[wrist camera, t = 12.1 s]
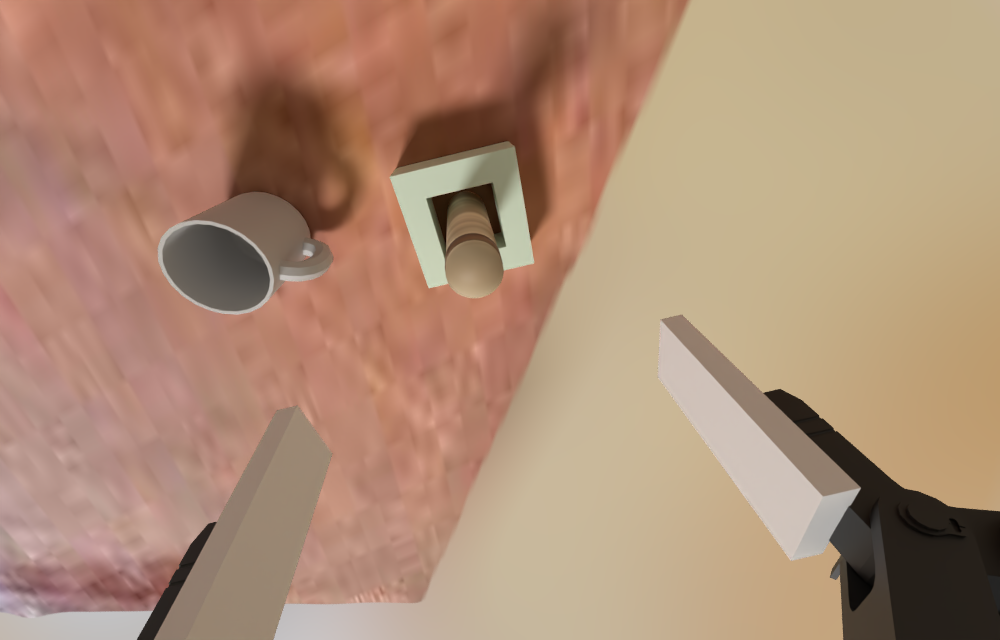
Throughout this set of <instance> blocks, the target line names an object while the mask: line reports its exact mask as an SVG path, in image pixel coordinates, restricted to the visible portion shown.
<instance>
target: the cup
mask: <svg viewBox="0 0 1000 640" xmlns="http://www.w3.org/2000/svg"><path fill="white" fill-rule="evenodd" d="M306 255H307V256H311V257H310V258H308V259H306V260H304V259H305V257H306ZM303 260H304V261H303ZM158 261H159V264H160V266H161V269H162V272H163V274H164V275H165V277H166V278H167V280H168V281H169V283H170V284H171V285H172V286H173V287H174V288H175V289H176V290H177V291H178V292H179V293H180V294H181V295H182V296H184V297H185V298H187V299H188V300H190V301H191V302H193V303H194V304H196V305H198V306H201V307H203V308H205V309H208V310H210V311H214V312H218V313H223V314H243V313H248V312H252V311H254V310H256V309H258V308H260V307H261V306H262V305H263V304H265V303H266V302H267V301H268V300H269V299H270V298H271V296H272V295H273V294H274V293H275V292H276V291H277V290H278V288H279V287H280V286H281V285H282V284H283V283H284V282H285V281H306V280H312V279H315V278H317V277H319V276H321V275H323V274H324V273H325V272H326V271H327V270H328V268H329V267H330V265H331V263H332V262H333V255H332V252H331V250H330V248H329V246H328V245H326V244H325V243H323V242H321V241H318V240H315V239H311V237H310V230H309V228H308V226H307V223H306V221H305V219H304V218H303V217H302V215H301V214H300V213H299V211H298V210H297V209H295V208H294V207H293V206H292V205H291V204H290V203H289V202H287V201H285V200H283V199H282V198H280V197H278V196H275V195H272V194H269V193H265V192H249V193H243V194H240V195H237V196H235V197H233V198H231V199H229V200H227V201H225V202H223V203H221V204H219V205H217V206H214V207H212V208H210V209H208V210H206V211H204V212H202V213H200V214H198V215H196V216H193V217H191V218H189V219H187V220H185V221H183V222H181V223H179V224H177V225H175V226H173V227H171V228H169V229H168V231H167V232H166V233H165V234H164V235H163V236H162V237H161V240H160V243H159V246H158Z"/></svg>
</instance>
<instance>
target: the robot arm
mask: <svg viewBox="0 0 1000 640" xmlns="http://www.w3.org/2000/svg"><path fill="white" fill-rule="evenodd" d="M658 378H659V380H660V381H661V382H662V383H663V385H664V387H665V388H666V389H667V391H668V392H669V393H670V394H671V396H672V398H673V399H674V400H675V402H676V403H677V404H678V406H679V407H680V409H681V410H682V411H683V412H684V414H685V415H686V417H687V418H688V420H689V421H690V422H691V424H692V425H693V426H694V428H695V429H696V431H697V432H698V433H699V435H700V436H701V438H702V439H703V440H704V442H705V443H706V444H707V446H708V447H709V449H710V450H711V451H712V453H713V454H714V455H715V456H716V458H717V460H718V461H719V462H720V464H721V465H722V466H723V468H724V469H725V470H726V472H727V473H728V475H729V476H730V477H731V479H732V480H733V482H734V483H735V484H736V486H737V487H738V488H739V490H740V491H741V493H742V494H743V495H744V497H745V498H746V499H747V501H748V502H749V504H750V505H751V506H752V508H753V509H754V511H755V512H756V513H757V515H758V516H759V517H760V519H761V520H762V522H763V523H764V524H765V526H766V527H767V528H768V530H769V531H770V533H771V534H772V535H773V537H774V538H775V540H776V541H777V542H778V544H779V545H780V546H781V548H782V549H783V551H784V552H785V553H786V555H787V556H788V557H789V559H790V560H791V561H792V560H796V559H801V558H805V557H810V556H814V555H818V554H822V553H823V552H824V550H825V548H826V546H827V545H828V543H829V542H831V543H832V544H833V545H834V546H835V548H836V549H837V550H838V551H839V552H840V554H841V556H840V558H839V559H838V561H837V562H836V564H835V565H834V567H833V568H832V571H831V575H830V578H833V579H835V580H836V579H837V578H838V577H839V575H840V582H841V599H842V621H843V640H1000V511H988V510H977V509H966V508H956V507H950V506H947V505H946V504H944V503H942V502H941V501H939V500H937V499H936V498H933V497H930V496H928V495H926V494H923V493H921V492H918V491H913V490H908V489H904V488H902V487H901V486H900V485H898V484H897V483H896V482H894V481H893V480H892V479H891V478H890V477H888V476H887V475H886V474H885V473H884V472H883V471H882V470H880V469H879V468H878V467H877V466H876V465H875V464H874V463H873V462H871V461H870V460H869V459H868V458H867V457H866V456H864V455H863V454H862V453H861V452H860V451H859V450H858V449H857V448H856V447H854V446H853V445H852V444H851V443H850V442H849V441H847V440H846V439H845V438H844V437H843V436H842V435H841V434H840V433H838V432H837V431H836V432H835V431H834V429H833V427H832V426H831V425H829V424H828V423H827V422H826V421H825V420H824V419H821V418H819V415H818V414H817V413H816V412H815V411H813V410H812V409H811V408H810V407H809V406H808V405H807V404H805V403H804V402H803V401H802V400H800V399H798V398H797V397H795V396H793V395H791V394H789V393H787V392H785V391H783V390H781V389H778V390H774V391H769V392H765V393H762V392H761V391H760V390H759V389H758V388H757V387H756V386H755V385H754V384H753V383H752V382H751V381H750V380H749V379H748V378H747V377H746V376H745V375H744V374H743V373H742V372H741V371H740V370H739V369H737V367H735V365H733V364H732V363H731V362H730V361H729V360H728V359H727V358H726V357H725V356H724V355H723V354H722V353H721V352H720V351H719V350H718V349H717V348H716V347H715V346H714V345H713V344H712V343H711V342H710V341H709V340H708V339H707V338H705V337H704V336H703V335H702V334H701V333H700V332H699V331H698V330H697V329H696V328H695V327H694V326H693V325H692V324H691V323H690V322H689V321H688V320H687V319H686V318H685V317H684V316H683V315H678V316H674V317H669V318H665V319H661V320H660V340H659V361H658ZM331 457H332V452H331V451H330V450H329V448H328V447H327V445H326V444H325V443H324V441H323V440H322V438H321V437H320V436H319V434H318V433H317V432H316V430H315V429H314V427H313V426H312V425H311V423H310V422H309V420H308V419H307V418H306V416H305V415H304V414H303V412H302V411H301V409H300V408H299V407H298V405H297V406H293V407H289V408H285V409H280V410H277V411H276V413H275V414H274V416H273V418H272V420H271V422H270V424H269V426H268V428H267V429H266V431H265V433H264V435H263V437H262V439H261V441H260V442H259V444H258V446H257V448H256V450H255V452H254V454H253V456H252V457H251V459H250V461H249V463H248V465H247V467H246V469H245V471H244V472H243V474H242V476H241V478H240V480H239V482H238V484H237V485H236V487H235V489H234V491H233V493H232V495H231V497H230V499H229V500H228V502H227V504H226V506H225V508H224V510H223V512H222V514H221V515H220V517H219V519H218V521H217V522H213V523H209V524H208V525H207V526H206V527H205V528H204V530H203V531H202V532H201V533H200V534H199V535H198V536H197V538H196V539H195V540H194V541H193V542H192V543H191V545H190V547H189V549H188V550H187V552H186V554H185V556H184V557H183V559H182V561H181V563H180V564H179V569H178V570H176V571H175V573H174V575H173V577H172V579H171V580H170V582H169V587H168V588H166V589H165V591H164V593H163V594H162V596H161V598H160V600H159V602H158V603H157V605H156V607H155V609H154V610H153V612H152V614H151V616H150V618H149V619H148V621H147V623H146V624H145V626H144V628H143V630H142V632H141V633H140V635H139V637H138V639H137V640H273V639H274V636H275V633H276V629H277V626H278V623H279V620H280V617H281V614H282V611H283V607H284V604H285V601H286V598H287V595H288V592H289V589H290V585H291V582H292V579H293V576H294V573H295V570H296V567H297V564H298V560H299V557H300V554H301V551H302V548H303V545H304V542H305V538H306V535H307V532H308V529H309V526H310V523H311V520H312V516H313V513H314V510H315V507H316V504H317V501H318V498H319V494H320V491H321V488H322V485H323V482H324V479H325V476H326V472H327V469H328V466H329V463H330V460H331Z"/></svg>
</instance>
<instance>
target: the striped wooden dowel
mask: <svg viewBox="0 0 1000 640" xmlns="http://www.w3.org/2000/svg"><path fill="white" fill-rule="evenodd" d="M445 273H446V279H447V282H448V284H449V285H450V287H451V288H452V289H453V290H454V291H455V292H456V293H458V294H459V295H461V296H464V297H468V298H481V297H484V296H487V295H489V294H491V293H492V292H493V291H495V290H496V289H497V287H498V286H499V285H500V283H501V281H502V278H503V273H504V269H503V262H502V258H501V255H500V251H499V249H498V247H497V244H496V241H495V238H494V234H493V231H492V228H491V224H490V221H489V218H488V214H487V211H486V208H485V204H484V202H483V200H482V199H481V198H480V197H479V196H478V195H477V194H475V193H473V192H468V191H464V192H460V193H457V194H456V195H454V196H453V197H452V198H451V200H450V201H449V204H448V208H447V237H446V255H445Z"/></svg>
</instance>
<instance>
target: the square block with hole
mask: <svg viewBox="0 0 1000 640" xmlns="http://www.w3.org/2000/svg"><path fill="white" fill-rule="evenodd" d="M390 179H391V182H392V185H393V188H394V190H395V193H396V196H397V199H398V202H399V205H400V207H401V210H402V213H403V216H404V219H405V222H406V225H407V227H408V230H409V233H410V236H411V239H412V242H413V245H414V247H415V250H416V253H417V256H418V259H419V262H420V265H421V267H422V270H423V273H424V276H425V279H426V282H427V285H428V287H429V288H432V287H436V286H441V285H445V284H448V282H447V279H446V273H445V255H446V244H445V241H444V238H443V234H442V231H441V228H440V224H439V221H438V218H437V214H436V211H435V208H434V204H433V201H432V198H431V197H434V196H438V195H442V194H447V193H451V192H455V191H459V190H463V189H467V188H472V187H476V186H480V185H484V184H488V183H491V186H492V190H493V195H494V200H495V205H496V210H497V214H498V219H499V224H500V229H501V232H500V233H496V234H494V238H495V241H496V244H497V247H498V249H499V251H500V255H501V258H502V262H503V269H504V270H508V269H512V268H516V267H521V266H525V265H529V264H533V263H534V259H533V253H532V247H531V241H530V235H529V229H528V223H527V217H526V211H525V205H524V199H523V193H522V187H521V181H520V175H519V169H518V163H517V157H516V151H515V146H513V145H512V144H511V143H510V142H509V141H506V142H502V143H498V144H494V145H489V146H485V147H481V148H477V149H473V150H469V151H465V152H460V153H456V154H452V155H448V156H444V157H440V158H436V159H432V160H427V161H423V162H419V163H415V164H411V165H407V166H403V167H398V168H396V169H395V170H394V172H393V173H392V174H391V176H390Z"/></svg>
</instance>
